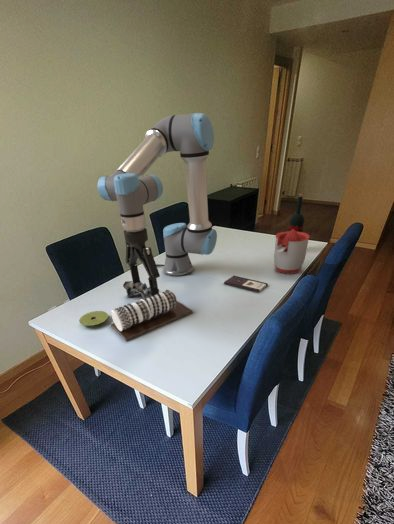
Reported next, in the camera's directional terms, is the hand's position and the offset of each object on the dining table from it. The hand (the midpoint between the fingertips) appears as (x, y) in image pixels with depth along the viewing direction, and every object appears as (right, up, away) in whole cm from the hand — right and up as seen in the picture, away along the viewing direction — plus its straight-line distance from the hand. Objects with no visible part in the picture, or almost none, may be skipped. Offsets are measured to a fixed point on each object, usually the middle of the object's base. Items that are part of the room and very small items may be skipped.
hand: (145, 288), depth 108 cm
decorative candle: (-10, -12, -1) cm, 16 cm away
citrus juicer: (+65, +18, +41) cm, 79 cm away
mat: (-22, -12, +10) cm, 27 cm away
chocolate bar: (+42, +8, +30) cm, 52 cm away
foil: (-5, +1, +24) cm, 25 cm away
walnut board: (+1, -11, +9) cm, 14 cm away
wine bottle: (+75, +34, +62) cm, 103 cm away
